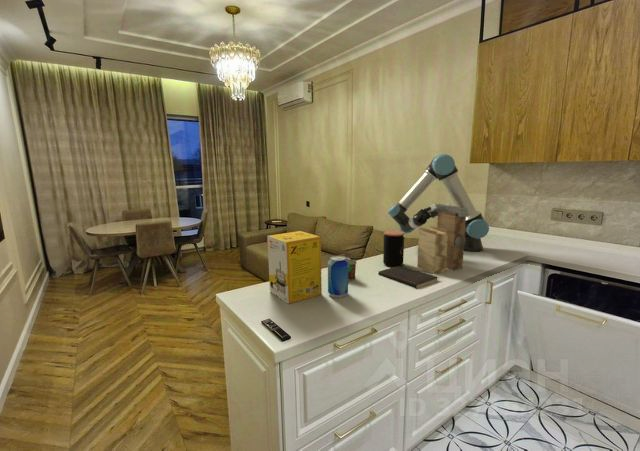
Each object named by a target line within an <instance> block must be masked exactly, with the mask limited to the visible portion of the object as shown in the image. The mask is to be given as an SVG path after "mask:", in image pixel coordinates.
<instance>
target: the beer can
mask: <svg viewBox="0 0 640 451" xmlns="http://www.w3.org/2000/svg"><path fill="white" fill-rule="evenodd" d="M327 293H328V294H329V295H330V297H332V298H337V299H340V298H344V297H346V296H347V294H348V293H349V280H348V262H347V261H346V258H345V257H344V256H340V255H332V256H329V260H328V261H327Z"/></svg>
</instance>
